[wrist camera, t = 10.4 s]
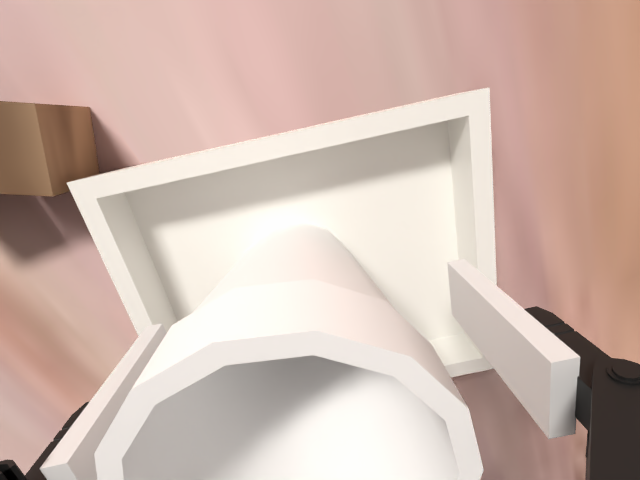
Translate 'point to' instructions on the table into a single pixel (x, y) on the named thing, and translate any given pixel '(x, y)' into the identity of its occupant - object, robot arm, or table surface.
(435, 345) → the tray
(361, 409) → the foam cup
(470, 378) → the table surface
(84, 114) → the walnut block
